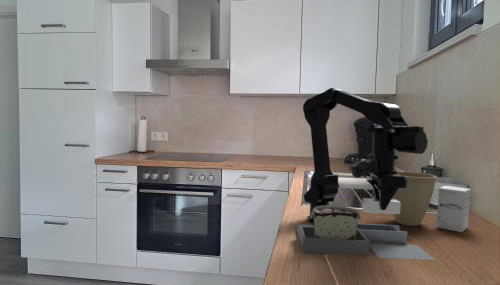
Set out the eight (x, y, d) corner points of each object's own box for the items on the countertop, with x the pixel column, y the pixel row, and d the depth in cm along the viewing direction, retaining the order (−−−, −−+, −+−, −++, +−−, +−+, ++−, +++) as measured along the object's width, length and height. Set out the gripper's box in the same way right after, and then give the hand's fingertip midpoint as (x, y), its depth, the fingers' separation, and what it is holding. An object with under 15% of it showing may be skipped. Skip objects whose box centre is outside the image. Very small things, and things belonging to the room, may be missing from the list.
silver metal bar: (362, 209, 96) (362, 198, 96) (395, 211, 95) (396, 199, 95) (365, 212, 92) (366, 200, 92) (400, 214, 92) (400, 202, 92)
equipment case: (295, 227, 105) (296, 215, 105) (348, 229, 104) (349, 217, 104) (302, 252, 84) (303, 238, 84) (369, 255, 83) (369, 241, 83)
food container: (351, 242, 92) (353, 205, 92) (359, 251, 86) (361, 211, 86) (305, 241, 92) (306, 204, 91) (310, 250, 86) (311, 210, 85)
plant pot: (444, 228, 107) (447, 177, 106) (401, 230, 104) (404, 177, 103) (412, 216, 122) (415, 170, 121) (374, 217, 119) (376, 170, 118)
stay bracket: (354, 236, 98) (355, 223, 97) (398, 238, 97) (398, 225, 97) (360, 243, 92) (360, 230, 91) (406, 245, 91) (407, 232, 91)
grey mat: (366, 244, 91) (366, 242, 91) (417, 246, 90) (417, 245, 90) (378, 259, 81) (378, 257, 81) (435, 261, 80) (435, 260, 80)
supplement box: (435, 227, 108) (438, 187, 107) (442, 223, 113) (444, 184, 113) (463, 233, 103) (465, 191, 102) (468, 228, 108) (471, 188, 108)
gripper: (345, 147, 103) (343, 199, 104) (362, 152, 84) (359, 216, 85) (383, 148, 102) (381, 201, 103) (409, 154, 83) (406, 218, 84)
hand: (380, 208), depth 94 cm, fingers closed on silver metal bar, 3 cm apart
